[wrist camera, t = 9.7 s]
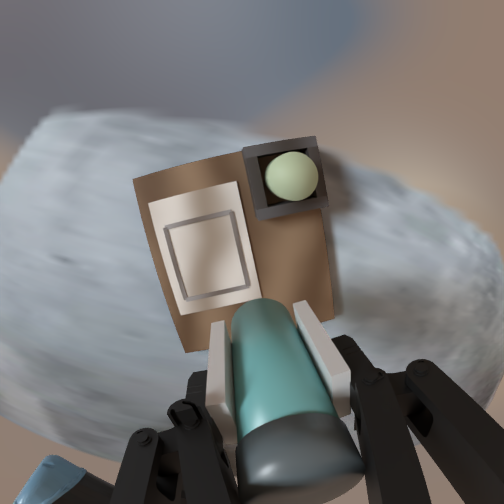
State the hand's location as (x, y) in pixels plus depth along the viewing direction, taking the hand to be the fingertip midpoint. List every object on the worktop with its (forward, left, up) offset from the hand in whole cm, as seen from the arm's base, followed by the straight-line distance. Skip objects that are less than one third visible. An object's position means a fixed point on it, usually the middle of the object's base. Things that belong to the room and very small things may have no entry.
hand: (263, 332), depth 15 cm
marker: (0, -1, -2) cm, 2 cm away
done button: (+5, +8, -9) cm, 13 cm away
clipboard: (0, +2, -12) cm, 12 cm away
